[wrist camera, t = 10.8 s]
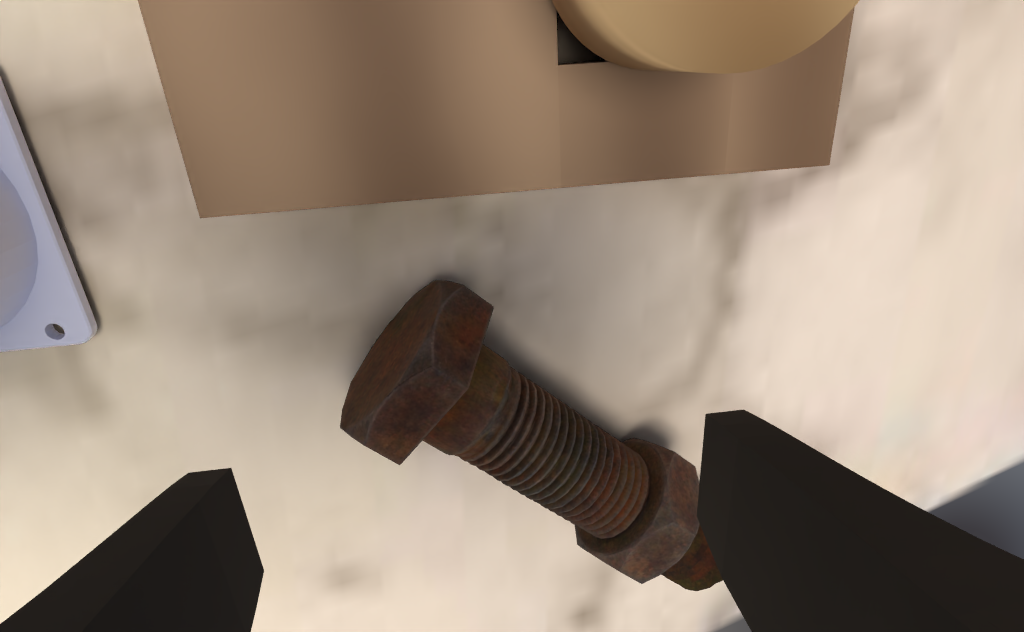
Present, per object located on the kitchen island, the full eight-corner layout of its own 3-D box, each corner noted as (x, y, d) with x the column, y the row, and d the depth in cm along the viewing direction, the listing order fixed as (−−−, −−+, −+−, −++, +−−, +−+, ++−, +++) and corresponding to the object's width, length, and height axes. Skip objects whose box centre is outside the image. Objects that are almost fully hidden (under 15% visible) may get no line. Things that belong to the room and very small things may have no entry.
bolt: (663, 499, 26) (382, 315, 20) (767, 471, 22) (465, 243, 17) (659, 642, 22) (311, 463, 16) (783, 634, 19) (400, 406, 13)
